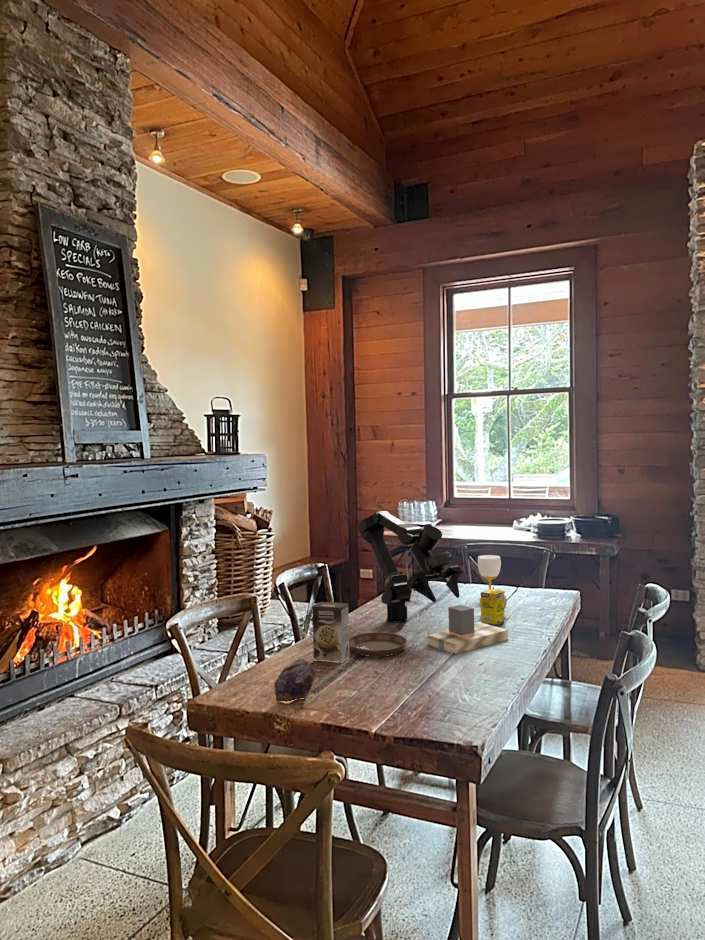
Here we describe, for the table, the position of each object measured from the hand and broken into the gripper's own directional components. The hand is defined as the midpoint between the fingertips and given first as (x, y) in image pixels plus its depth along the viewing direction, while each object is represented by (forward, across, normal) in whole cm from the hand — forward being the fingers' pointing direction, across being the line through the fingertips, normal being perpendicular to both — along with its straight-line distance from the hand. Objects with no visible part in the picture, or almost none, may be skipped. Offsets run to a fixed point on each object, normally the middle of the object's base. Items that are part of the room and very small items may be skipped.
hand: (447, 599), depth 225 cm
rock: (+21, -61, -4) cm, 65 cm away
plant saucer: (+6, -24, +12) cm, 27 cm away
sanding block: (+11, 0, +2) cm, 12 cm away
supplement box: (+6, +23, +12) cm, 26 cm away
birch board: (+14, +2, +4) cm, 14 cm away
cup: (-13, +46, +32) cm, 58 cm away
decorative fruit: (+1, +30, +17) cm, 34 cm away
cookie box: (+6, -39, +12) cm, 41 cm away
